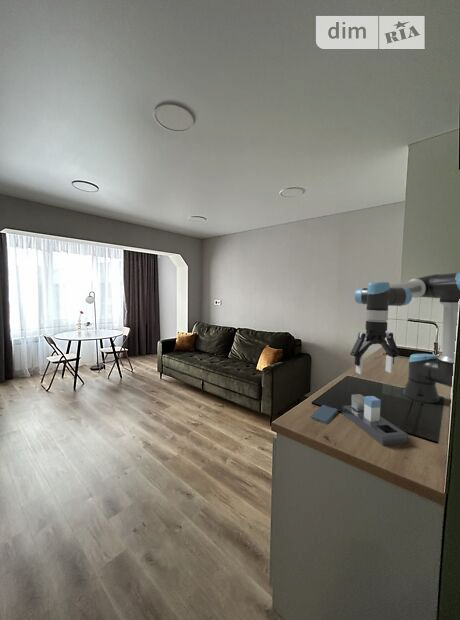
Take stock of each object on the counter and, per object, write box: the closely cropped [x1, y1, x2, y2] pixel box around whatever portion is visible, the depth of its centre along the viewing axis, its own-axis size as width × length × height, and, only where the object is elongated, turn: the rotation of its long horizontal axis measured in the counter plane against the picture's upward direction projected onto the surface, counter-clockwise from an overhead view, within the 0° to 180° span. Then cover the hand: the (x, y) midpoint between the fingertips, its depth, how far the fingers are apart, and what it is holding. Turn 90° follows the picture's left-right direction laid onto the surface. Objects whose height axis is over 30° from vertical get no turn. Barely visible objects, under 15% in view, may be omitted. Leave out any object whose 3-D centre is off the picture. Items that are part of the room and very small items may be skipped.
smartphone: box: [310, 404, 339, 425], centre depth 111 cm, size 8×2×15 cm
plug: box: [364, 395, 382, 422], centre depth 101 cm, size 4×4×12 cm
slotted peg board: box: [341, 393, 408, 446], centre depth 102 cm, size 10×24×9 cm, turn 9°
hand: (373, 372), depth 100 cm, fingers open, 13 cm apart
